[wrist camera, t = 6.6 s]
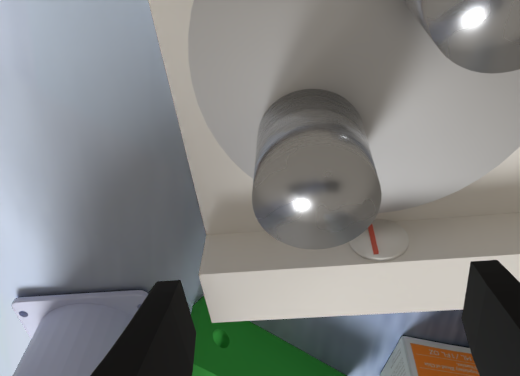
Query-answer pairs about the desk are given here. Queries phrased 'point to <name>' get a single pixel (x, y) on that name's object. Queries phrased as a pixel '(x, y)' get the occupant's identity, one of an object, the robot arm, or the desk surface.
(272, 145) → the cylinder
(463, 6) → the cylinder
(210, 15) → the scale
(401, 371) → the skincare box
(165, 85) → the desk surface
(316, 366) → the pipe clamp
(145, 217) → the desk surface
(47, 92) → the desk surface
